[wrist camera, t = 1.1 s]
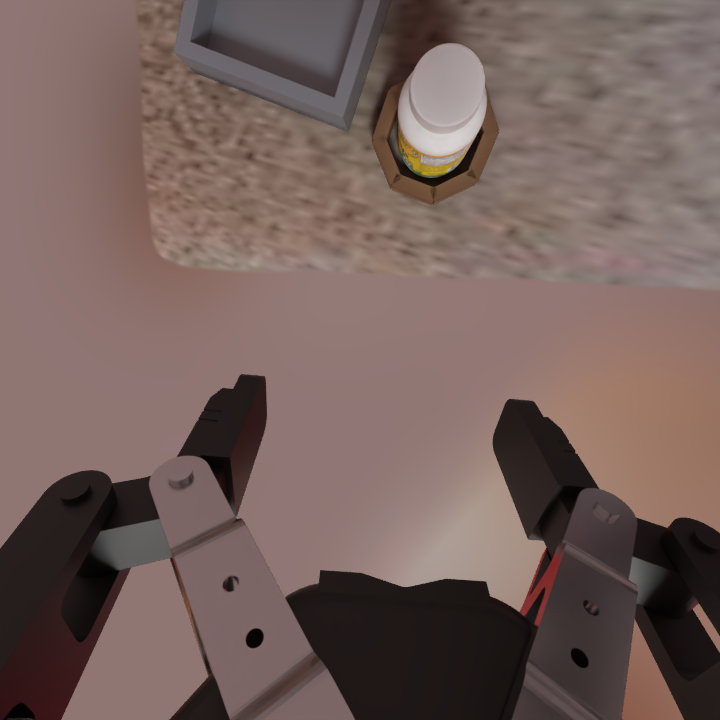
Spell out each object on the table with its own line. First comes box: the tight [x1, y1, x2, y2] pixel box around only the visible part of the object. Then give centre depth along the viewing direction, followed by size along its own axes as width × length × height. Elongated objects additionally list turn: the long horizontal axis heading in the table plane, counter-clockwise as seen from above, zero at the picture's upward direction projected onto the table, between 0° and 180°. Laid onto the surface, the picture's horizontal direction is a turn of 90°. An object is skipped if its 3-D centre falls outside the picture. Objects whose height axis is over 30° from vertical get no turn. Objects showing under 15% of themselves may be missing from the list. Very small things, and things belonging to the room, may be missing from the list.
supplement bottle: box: [398, 43, 487, 178], centre depth 25 cm, size 5×5×10 cm
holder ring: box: [372, 78, 499, 205], centre depth 29 cm, size 9×9×2 cm
